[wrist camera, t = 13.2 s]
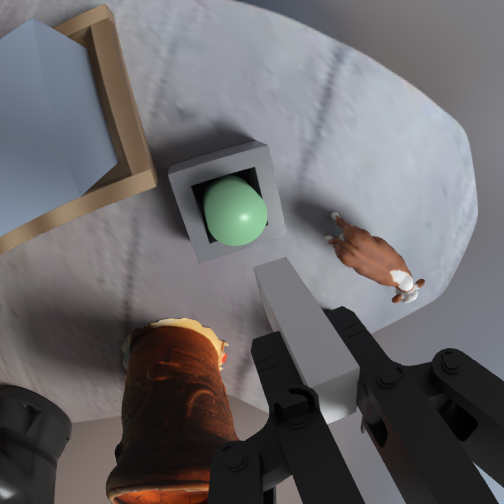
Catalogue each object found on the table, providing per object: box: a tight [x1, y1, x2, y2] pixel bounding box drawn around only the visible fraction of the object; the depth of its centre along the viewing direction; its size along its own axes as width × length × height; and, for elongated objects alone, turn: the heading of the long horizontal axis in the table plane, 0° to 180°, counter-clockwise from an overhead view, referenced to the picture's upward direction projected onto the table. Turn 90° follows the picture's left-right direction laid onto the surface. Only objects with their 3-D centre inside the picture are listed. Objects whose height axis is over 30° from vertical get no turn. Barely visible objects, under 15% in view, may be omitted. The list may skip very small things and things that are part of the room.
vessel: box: [106, 318, 239, 504], centre depth 27 cm, size 14×14×20 cm
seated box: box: [0, 18, 119, 237], centre depth 15 cm, size 7×11×11 cm, turn 13°
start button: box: [202, 175, 267, 246], centre depth 23 cm, size 4×4×4 cm
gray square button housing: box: [168, 140, 287, 263], centre depth 26 cm, size 8×8×4 cm
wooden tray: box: [0, 4, 159, 254], centre depth 19 cm, size 24×16×3 cm
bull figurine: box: [325, 212, 425, 303], centre depth 30 cm, size 4×13×8 cm, turn 53°
